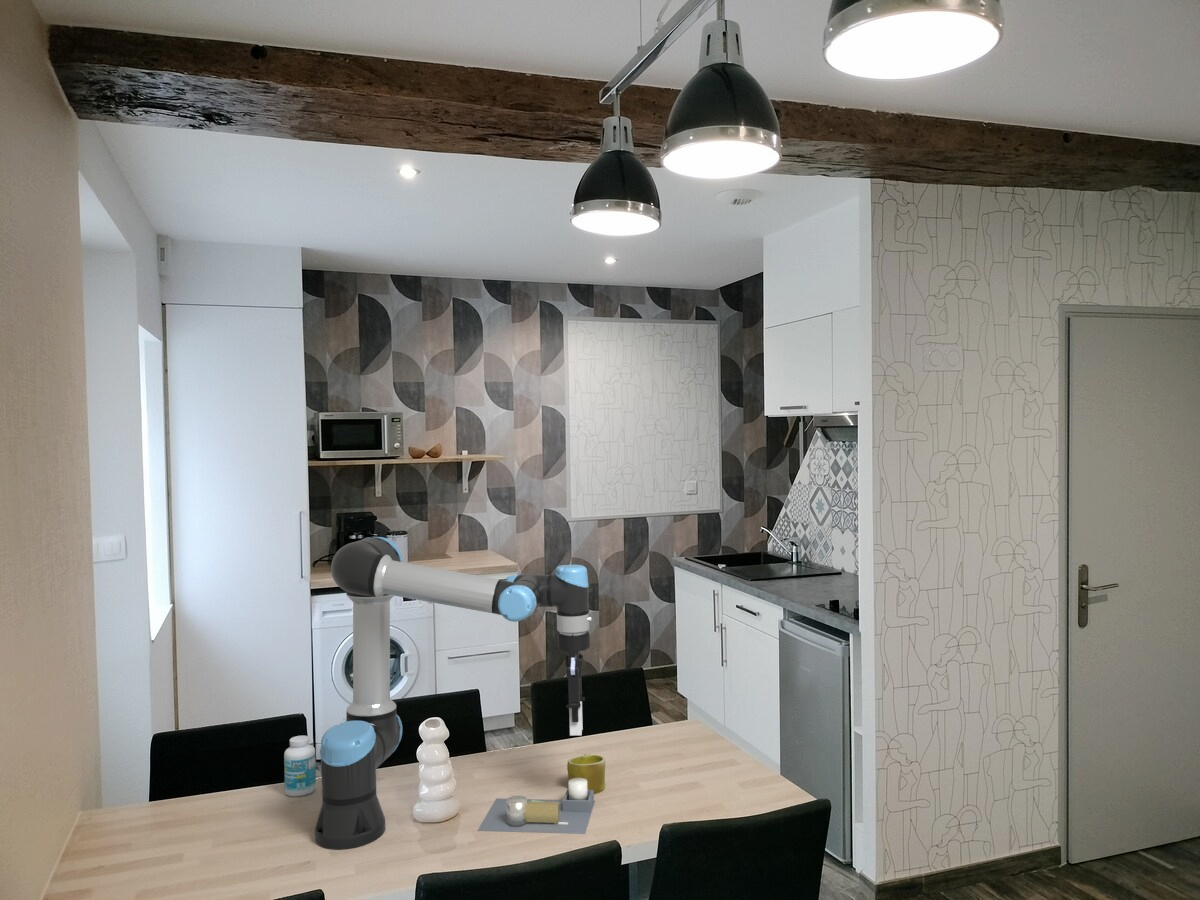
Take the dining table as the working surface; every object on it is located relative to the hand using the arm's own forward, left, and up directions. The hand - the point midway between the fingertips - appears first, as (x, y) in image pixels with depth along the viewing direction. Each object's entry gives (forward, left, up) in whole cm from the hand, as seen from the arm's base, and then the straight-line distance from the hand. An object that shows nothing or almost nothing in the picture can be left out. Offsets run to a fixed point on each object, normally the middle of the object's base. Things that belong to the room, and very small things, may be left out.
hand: (576, 731), depth 195 cm
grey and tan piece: (-9, -9, -17) cm, 21 cm away
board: (-8, -5, -19) cm, 21 cm away
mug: (+1, +13, -19) cm, 23 cm away
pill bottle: (-72, +7, -19) cm, 75 cm away
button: (0, 0, -16) cm, 16 cm away
